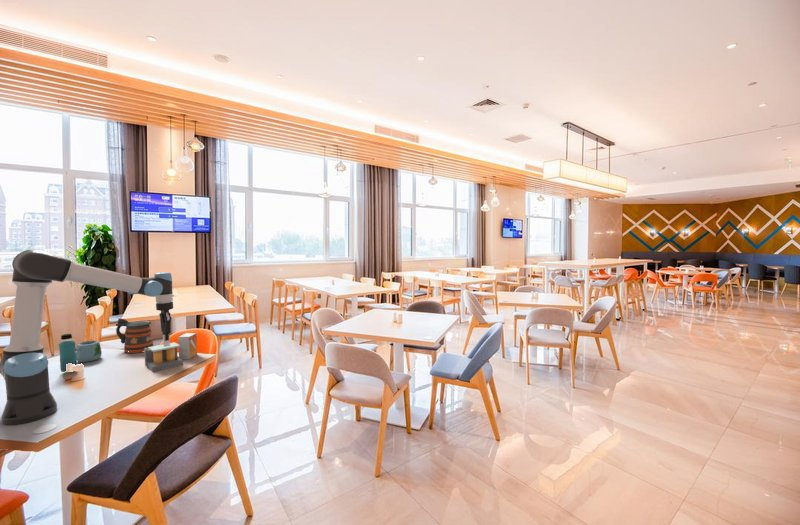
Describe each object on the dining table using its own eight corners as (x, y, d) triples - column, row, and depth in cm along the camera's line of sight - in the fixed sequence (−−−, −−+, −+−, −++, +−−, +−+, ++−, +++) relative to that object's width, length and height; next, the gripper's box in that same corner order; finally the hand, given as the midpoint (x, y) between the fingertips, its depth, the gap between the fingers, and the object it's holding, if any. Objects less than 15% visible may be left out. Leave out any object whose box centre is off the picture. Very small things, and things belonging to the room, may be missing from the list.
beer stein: (111, 355, 211) (108, 321, 209) (122, 347, 224) (120, 316, 223) (148, 352, 216) (146, 319, 215) (157, 345, 230) (155, 314, 229)
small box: (190, 359, 204) (189, 336, 203) (178, 359, 204) (177, 336, 203) (197, 354, 212) (196, 332, 211) (186, 354, 212) (185, 332, 211)
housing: (151, 371, 185) (150, 353, 185) (145, 365, 195) (144, 347, 194) (183, 364, 196) (183, 347, 195) (176, 358, 206) (175, 341, 205)
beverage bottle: (67, 375, 180) (64, 336, 179) (56, 374, 182) (54, 335, 180) (81, 370, 187) (78, 333, 185) (71, 369, 188) (68, 332, 187)
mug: (84, 366, 194) (82, 347, 193) (63, 365, 194) (62, 347, 193) (107, 356, 208) (106, 339, 208) (88, 356, 209) (87, 339, 208)
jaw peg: (167, 365, 194) (167, 349, 193) (166, 363, 197) (165, 347, 196) (176, 363, 197) (175, 347, 196) (174, 362, 200) (173, 346, 199)
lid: (153, 351, 185) (153, 350, 185) (147, 348, 194) (147, 347, 194) (180, 346, 194) (180, 345, 194) (174, 343, 203) (173, 342, 203)
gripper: (176, 302, 186) (178, 347, 188) (169, 299, 195) (171, 341, 197) (159, 304, 181) (161, 350, 183) (153, 301, 190) (155, 344, 192)
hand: (166, 345), depth 190 cm, fingers closed
